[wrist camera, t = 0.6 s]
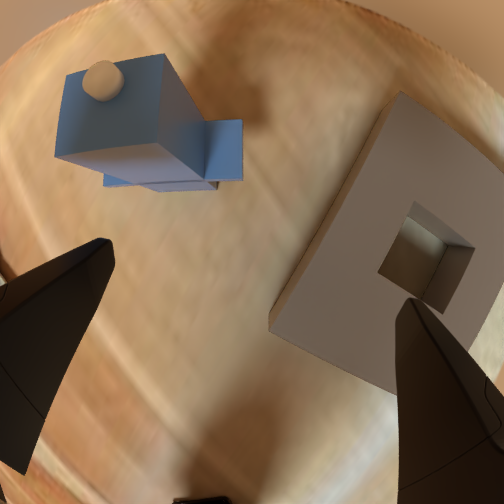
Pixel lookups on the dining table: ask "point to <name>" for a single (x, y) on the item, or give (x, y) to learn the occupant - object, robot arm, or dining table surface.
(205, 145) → the servo
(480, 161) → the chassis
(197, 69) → the dining table surface
